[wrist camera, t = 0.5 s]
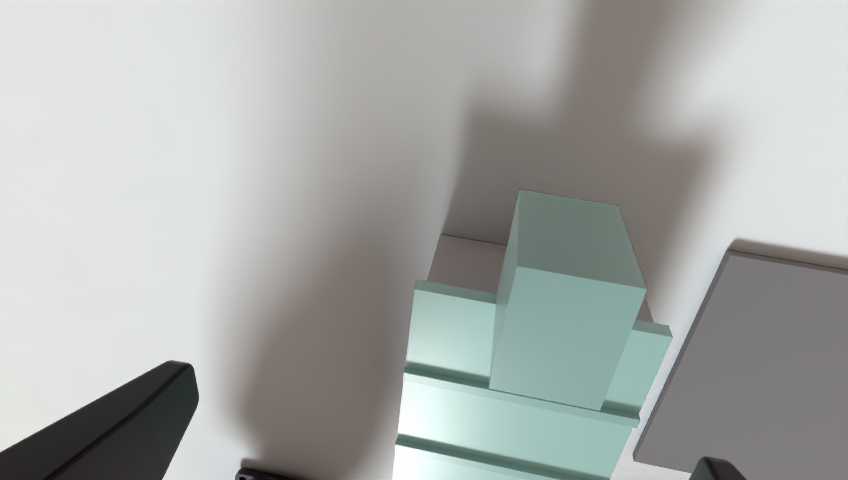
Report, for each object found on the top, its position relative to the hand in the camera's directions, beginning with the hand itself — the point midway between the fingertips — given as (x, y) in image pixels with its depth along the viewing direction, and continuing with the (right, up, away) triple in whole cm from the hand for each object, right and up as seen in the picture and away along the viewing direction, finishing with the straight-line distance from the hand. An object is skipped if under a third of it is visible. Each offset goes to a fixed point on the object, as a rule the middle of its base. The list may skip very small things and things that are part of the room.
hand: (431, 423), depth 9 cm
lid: (+4, -2, +11) cm, 12 cm away
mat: (+16, -3, +14) cm, 21 cm away
